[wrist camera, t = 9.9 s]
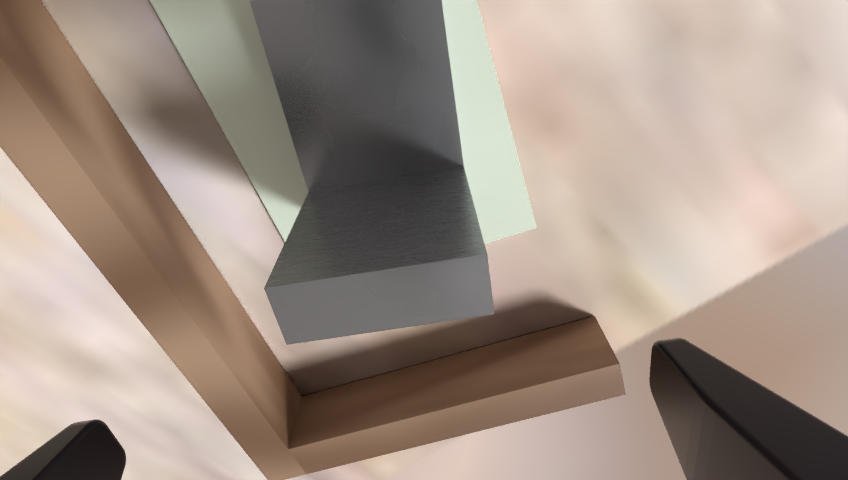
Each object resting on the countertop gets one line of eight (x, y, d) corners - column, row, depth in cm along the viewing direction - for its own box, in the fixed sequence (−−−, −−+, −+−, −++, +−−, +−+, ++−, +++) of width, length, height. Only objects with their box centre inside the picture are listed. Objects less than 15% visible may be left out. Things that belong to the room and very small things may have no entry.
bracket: (466, 197, 15) (494, 314, 10) (327, 219, 16) (286, 344, 11) (435, -35, 12) (451, -37, 7) (262, -3, 13) (157, 19, 7)
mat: (127, -46, 12) (123, -47, 12) (429, -179, 11) (429, -181, 11) (315, 292, 17) (315, 295, 17) (535, 225, 16) (536, 228, 16)
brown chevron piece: (-106, -118, 11) (-228, -138, 9) (440, -392, 10) (449, -499, 7) (285, 428, 21) (270, 483, 19) (600, 345, 19) (625, 394, 17)
